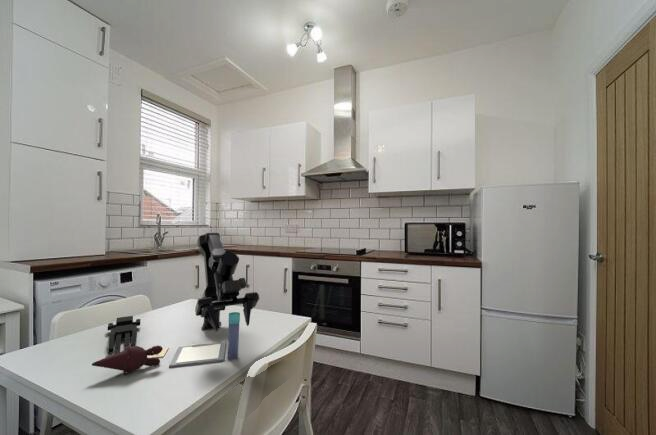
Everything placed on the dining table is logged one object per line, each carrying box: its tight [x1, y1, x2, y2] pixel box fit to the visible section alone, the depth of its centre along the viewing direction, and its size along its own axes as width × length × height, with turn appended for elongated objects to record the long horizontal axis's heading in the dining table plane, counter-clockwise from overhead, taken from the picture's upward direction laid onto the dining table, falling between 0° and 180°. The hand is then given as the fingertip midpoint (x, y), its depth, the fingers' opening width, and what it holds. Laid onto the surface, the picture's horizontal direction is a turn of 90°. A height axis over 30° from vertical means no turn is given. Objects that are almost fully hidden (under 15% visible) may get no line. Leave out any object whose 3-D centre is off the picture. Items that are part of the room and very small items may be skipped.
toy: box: [107, 315, 141, 355], centre depth 88 cm, size 10×5×30 cm
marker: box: [226, 311, 241, 361], centre depth 81 cm, size 3×3×13 cm
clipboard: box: [168, 341, 227, 368], centre depth 82 cm, size 12×14×1 cm
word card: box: [147, 347, 169, 359], centre depth 82 cm, size 6×4×1 cm, turn 18°
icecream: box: [91, 344, 164, 376], centre depth 72 cm, size 7×7×15 cm
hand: (233, 327), depth 82 cm, fingers open, 9 cm apart
